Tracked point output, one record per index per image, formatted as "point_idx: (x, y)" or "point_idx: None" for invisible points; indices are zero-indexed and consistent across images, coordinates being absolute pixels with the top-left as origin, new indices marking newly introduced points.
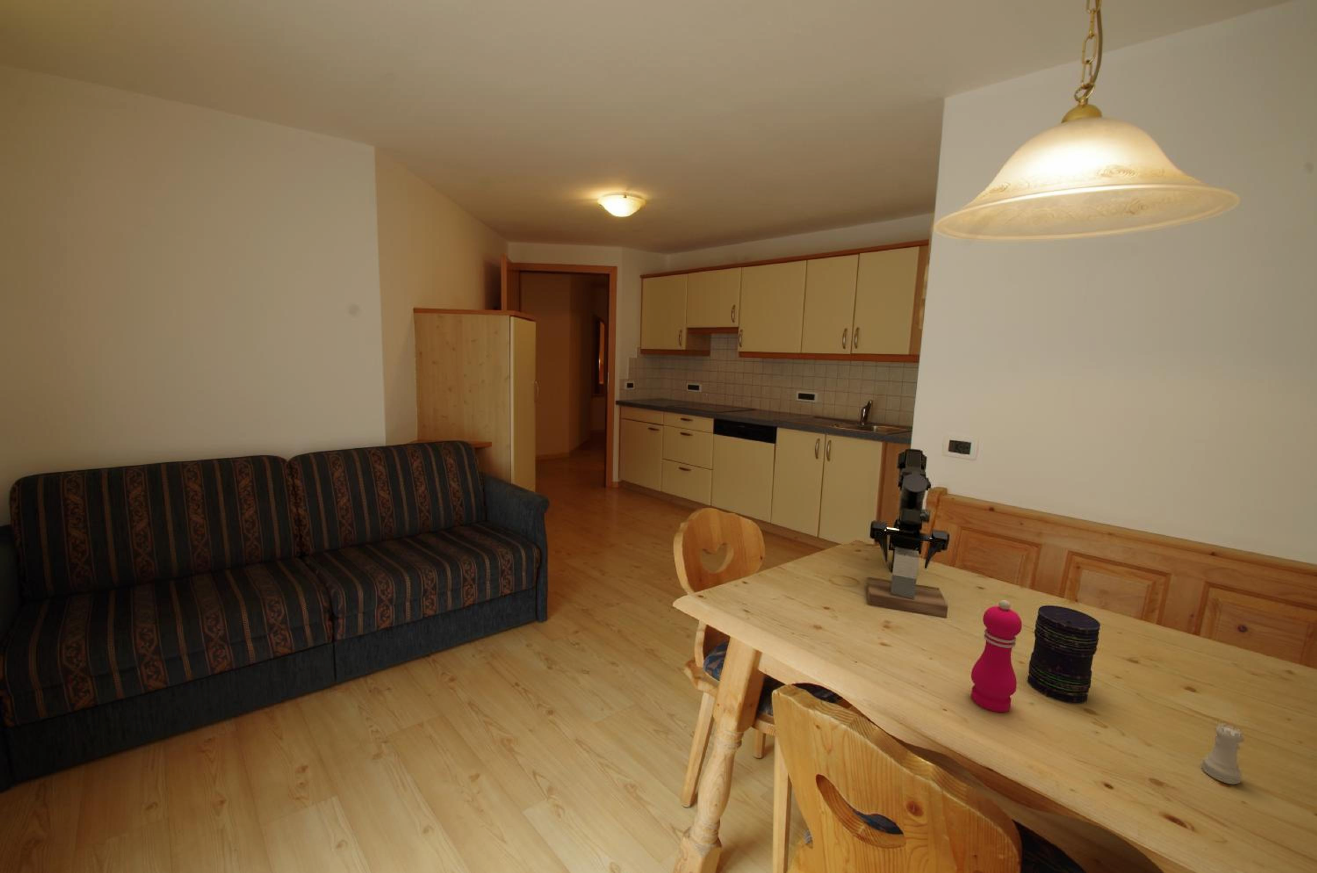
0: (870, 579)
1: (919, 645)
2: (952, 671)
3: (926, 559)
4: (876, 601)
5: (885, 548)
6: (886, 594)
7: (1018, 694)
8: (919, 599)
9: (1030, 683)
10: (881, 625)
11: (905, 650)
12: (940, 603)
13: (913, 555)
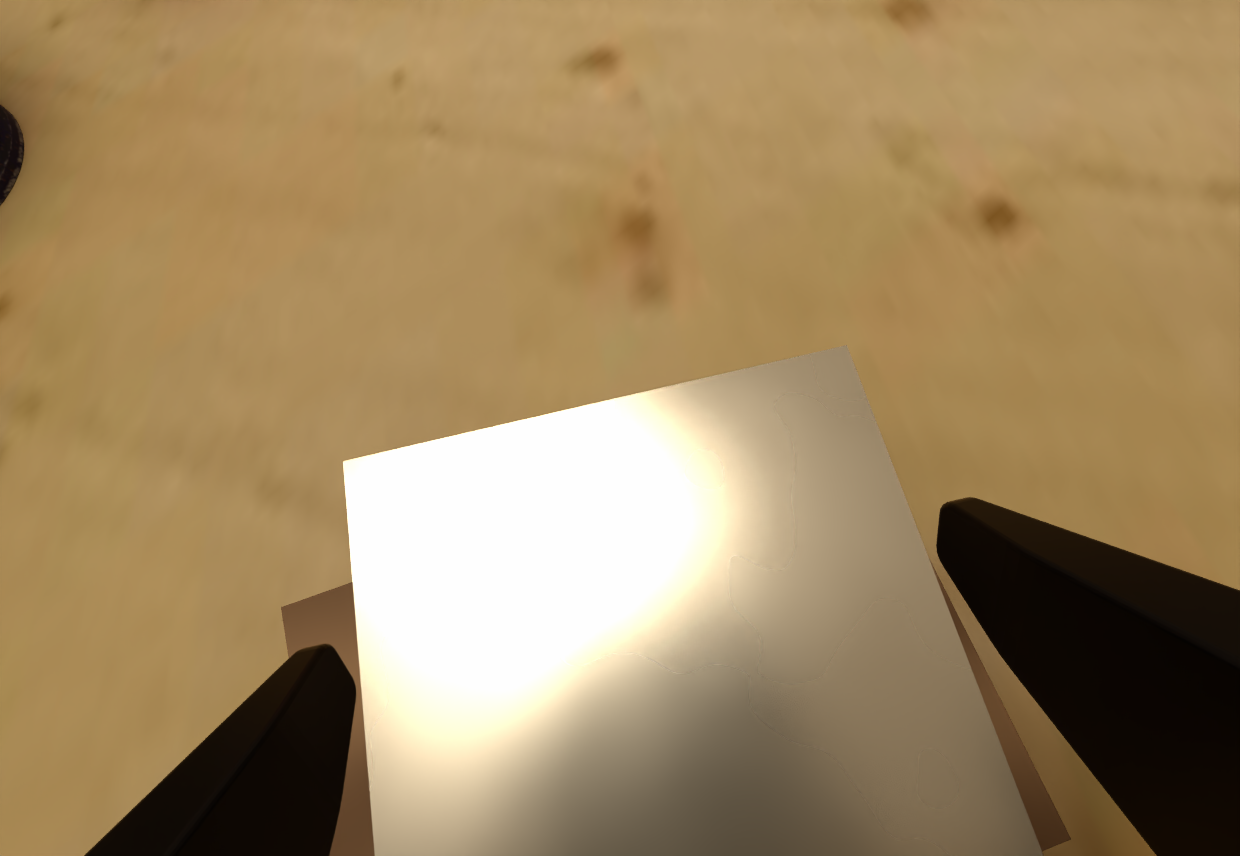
0: None
1: (454, 151)
2: (311, 42)
3: (234, 759)
4: None
5: (1216, 607)
6: None
7: (87, 47)
8: None
9: (13, 127)
10: (664, 223)
11: (504, 71)
12: (338, 635)
13: (478, 553)
